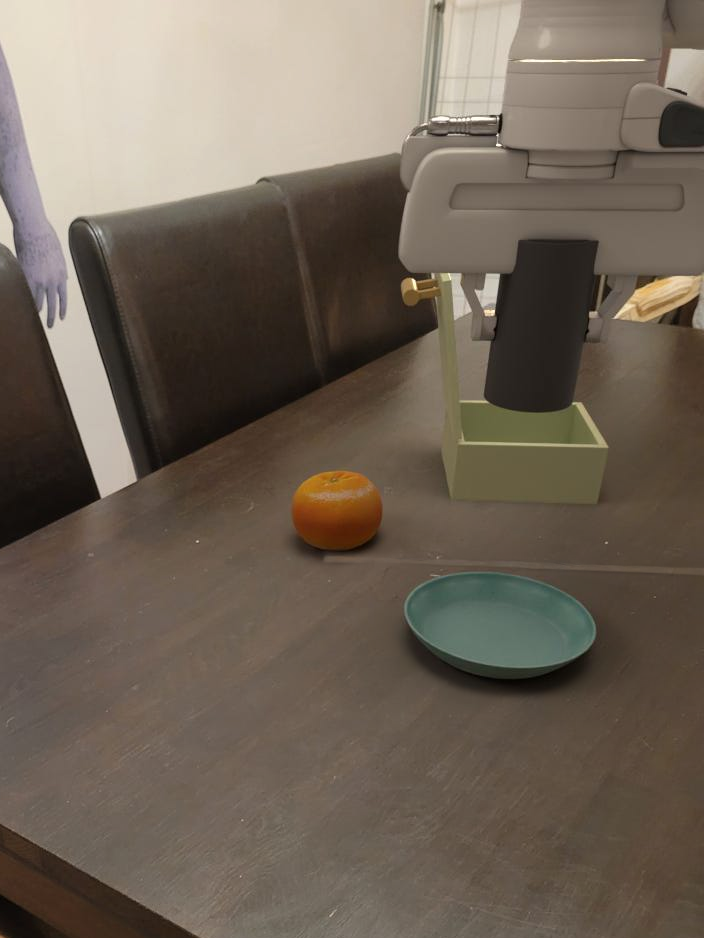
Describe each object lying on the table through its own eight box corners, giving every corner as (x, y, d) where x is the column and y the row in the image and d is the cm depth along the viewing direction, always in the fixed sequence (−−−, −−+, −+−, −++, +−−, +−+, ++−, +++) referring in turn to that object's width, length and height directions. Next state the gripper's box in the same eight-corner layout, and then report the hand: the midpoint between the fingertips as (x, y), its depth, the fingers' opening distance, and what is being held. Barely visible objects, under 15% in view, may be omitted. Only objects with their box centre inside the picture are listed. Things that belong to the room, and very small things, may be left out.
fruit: (317, 479, 97) (327, 433, 89) (389, 522, 95) (406, 479, 88) (271, 539, 94) (278, 497, 87) (345, 584, 92) (359, 545, 85)
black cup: (564, 386, 71) (593, 226, 65) (580, 414, 66) (613, 243, 60) (479, 384, 72) (500, 226, 66) (488, 411, 67) (512, 242, 61)
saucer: (566, 717, 68) (573, 687, 67) (373, 664, 75) (376, 635, 73) (607, 622, 79) (613, 594, 78) (435, 582, 85) (438, 556, 84)
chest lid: (440, 250, 99) (397, 258, 99) (451, 279, 87) (402, 287, 88) (450, 395, 106) (410, 401, 107) (462, 439, 95) (417, 445, 96)
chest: (570, 460, 109) (581, 402, 105) (596, 510, 97) (609, 447, 94) (440, 457, 110) (446, 399, 107) (450, 506, 99) (457, 444, 95)
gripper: (406, 119, 58) (388, 349, 65) (762, 117, 56) (702, 356, 63) (402, 111, 63) (386, 325, 70) (727, 109, 61) (675, 330, 68)
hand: (537, 340), depth 67 cm, fingers closed on black cup, 6 cm apart
